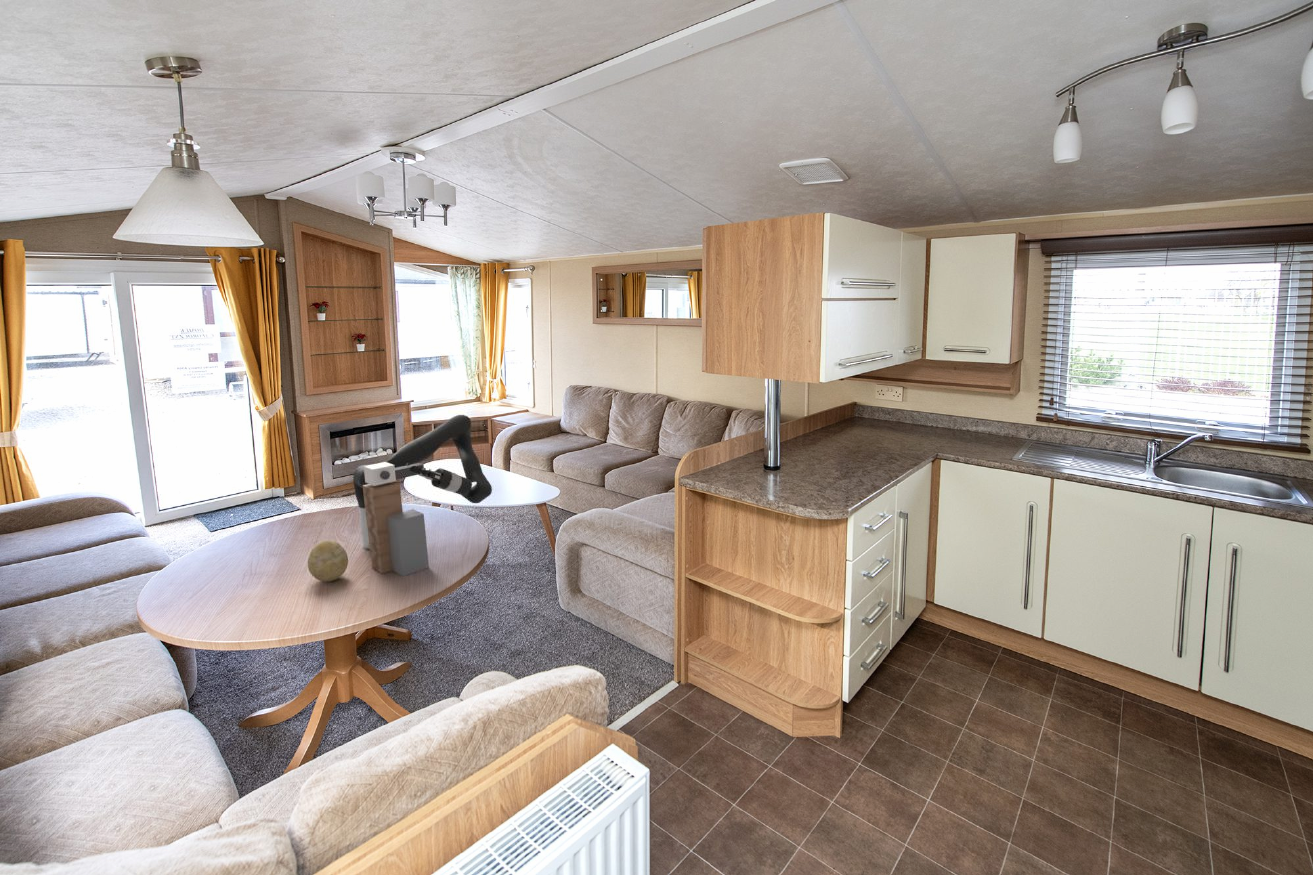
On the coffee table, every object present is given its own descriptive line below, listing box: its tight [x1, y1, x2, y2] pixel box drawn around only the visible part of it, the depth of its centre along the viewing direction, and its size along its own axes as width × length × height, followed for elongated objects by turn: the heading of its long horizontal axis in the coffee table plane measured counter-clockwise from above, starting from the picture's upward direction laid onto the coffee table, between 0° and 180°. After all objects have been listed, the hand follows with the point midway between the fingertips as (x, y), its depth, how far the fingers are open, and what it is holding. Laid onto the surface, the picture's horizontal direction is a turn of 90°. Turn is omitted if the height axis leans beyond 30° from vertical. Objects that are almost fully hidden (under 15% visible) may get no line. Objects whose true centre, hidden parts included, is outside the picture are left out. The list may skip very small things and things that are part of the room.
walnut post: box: [363, 481, 404, 575], centre depth 232 cm, size 8×10×32 cm
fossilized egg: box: [307, 539, 349, 583], centre depth 223 cm, size 13×13×15 cm
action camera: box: [364, 461, 425, 486], centre depth 232 cm, size 9×20×6 cm, turn 138°
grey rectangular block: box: [387, 509, 430, 577], centre depth 231 cm, size 8×10×21 cm
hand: (408, 467), depth 235 cm, fingers closed on action camera, 3 cm apart
